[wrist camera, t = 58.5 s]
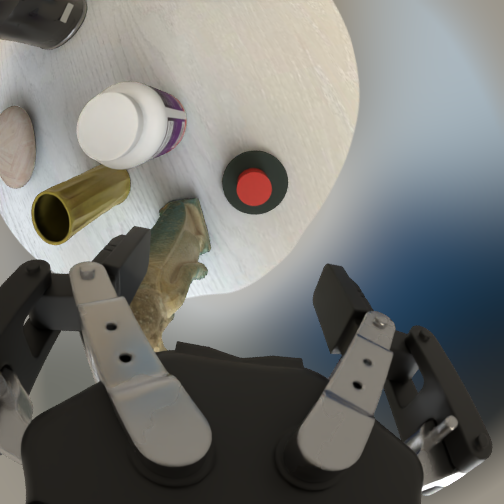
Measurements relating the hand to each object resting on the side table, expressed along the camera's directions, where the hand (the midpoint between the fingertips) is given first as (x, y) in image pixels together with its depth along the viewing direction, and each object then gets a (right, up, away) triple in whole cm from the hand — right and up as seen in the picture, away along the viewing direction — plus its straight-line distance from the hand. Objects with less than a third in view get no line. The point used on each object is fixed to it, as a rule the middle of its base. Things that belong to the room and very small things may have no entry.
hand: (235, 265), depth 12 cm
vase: (-18, +10, +20) cm, 29 cm away
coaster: (+1, +9, +21) cm, 23 cm away
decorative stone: (-34, +17, +16) cm, 41 cm away
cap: (+1, +9, +21) cm, 23 cm away
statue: (-8, +4, +24) cm, 25 cm away
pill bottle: (-11, +16, +18) cm, 26 cm away
